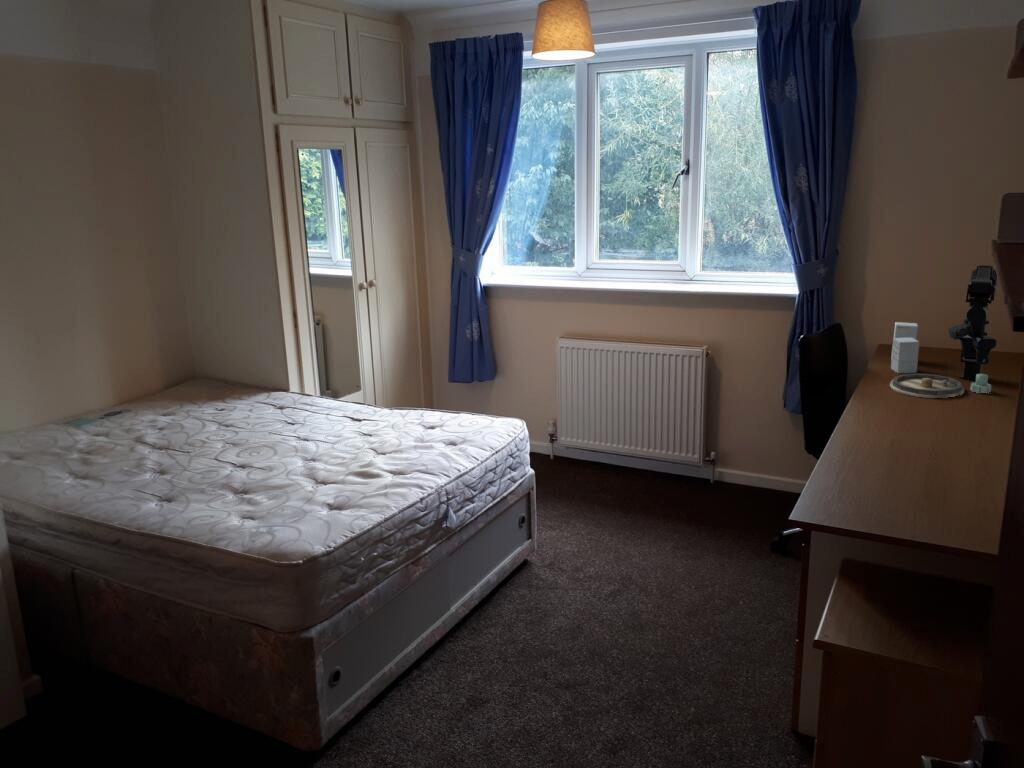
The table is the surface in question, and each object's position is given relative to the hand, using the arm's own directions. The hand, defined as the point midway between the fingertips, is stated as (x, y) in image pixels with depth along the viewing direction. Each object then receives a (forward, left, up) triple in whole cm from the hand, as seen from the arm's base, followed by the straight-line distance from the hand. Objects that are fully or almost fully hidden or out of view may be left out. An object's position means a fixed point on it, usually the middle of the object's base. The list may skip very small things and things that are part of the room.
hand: (971, 360), depth 279 cm
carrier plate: (+7, -11, -11) cm, 18 cm away
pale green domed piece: (-3, +3, -11) cm, 12 cm away
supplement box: (-9, -29, -12) cm, 33 cm away
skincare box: (-22, -37, -12) cm, 45 cm away
